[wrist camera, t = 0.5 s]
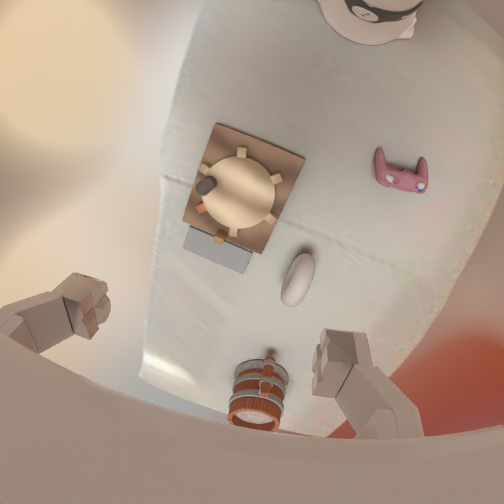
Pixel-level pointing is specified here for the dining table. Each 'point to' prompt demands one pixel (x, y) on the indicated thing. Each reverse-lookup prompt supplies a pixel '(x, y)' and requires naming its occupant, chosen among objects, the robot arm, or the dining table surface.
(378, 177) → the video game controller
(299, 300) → the donut
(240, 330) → the dining table surface
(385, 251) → the dining table surface
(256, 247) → the wheel base
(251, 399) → the mug
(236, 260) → the donut mat
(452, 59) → the dining table surface
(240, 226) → the index wheel
